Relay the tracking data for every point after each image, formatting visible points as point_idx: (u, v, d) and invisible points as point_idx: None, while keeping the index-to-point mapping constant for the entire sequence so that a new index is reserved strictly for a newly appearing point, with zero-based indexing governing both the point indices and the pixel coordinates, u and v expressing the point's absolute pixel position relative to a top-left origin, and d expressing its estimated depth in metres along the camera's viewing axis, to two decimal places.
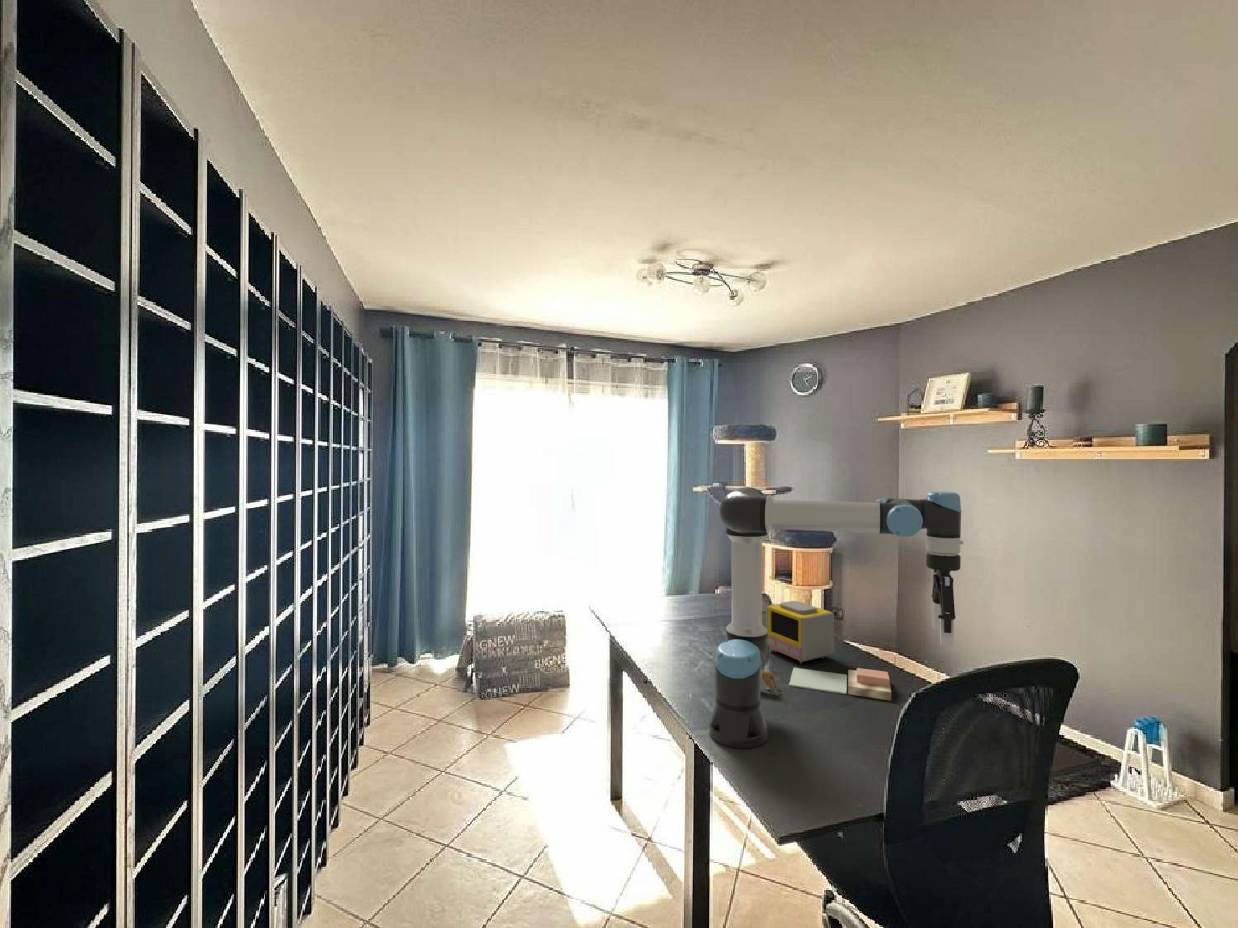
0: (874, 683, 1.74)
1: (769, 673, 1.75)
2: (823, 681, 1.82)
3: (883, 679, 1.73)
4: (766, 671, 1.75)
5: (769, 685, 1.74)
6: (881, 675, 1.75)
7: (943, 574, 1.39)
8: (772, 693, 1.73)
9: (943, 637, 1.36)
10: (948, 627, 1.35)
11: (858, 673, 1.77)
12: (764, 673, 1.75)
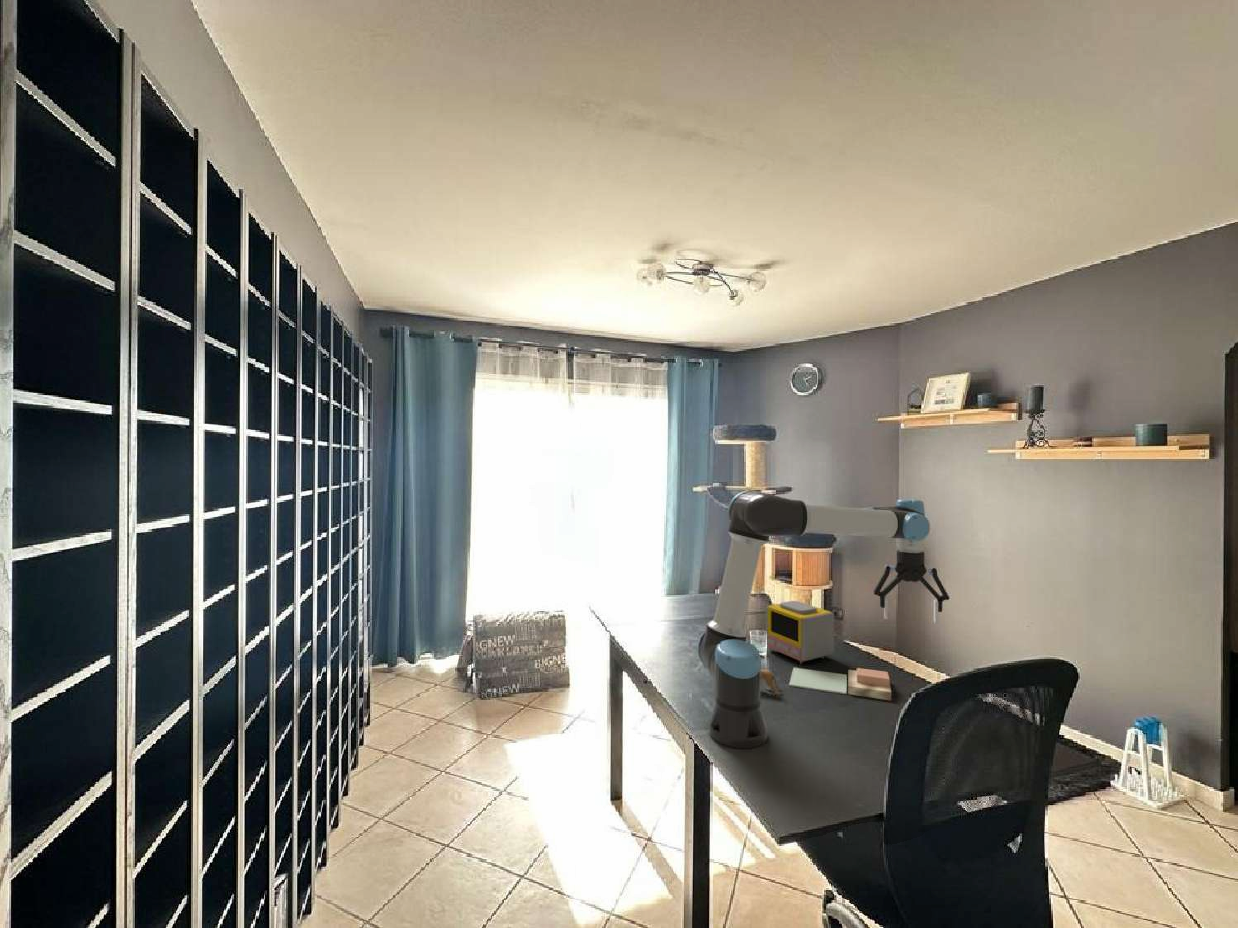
0: (874, 683, 1.74)
1: (770, 673, 1.75)
2: (823, 681, 1.82)
3: (883, 679, 1.73)
4: (767, 671, 1.75)
5: (770, 685, 1.74)
6: (881, 675, 1.75)
7: (896, 564, 1.72)
8: (773, 693, 1.73)
9: (884, 611, 1.74)
10: None
11: (858, 673, 1.77)
12: (765, 673, 1.75)
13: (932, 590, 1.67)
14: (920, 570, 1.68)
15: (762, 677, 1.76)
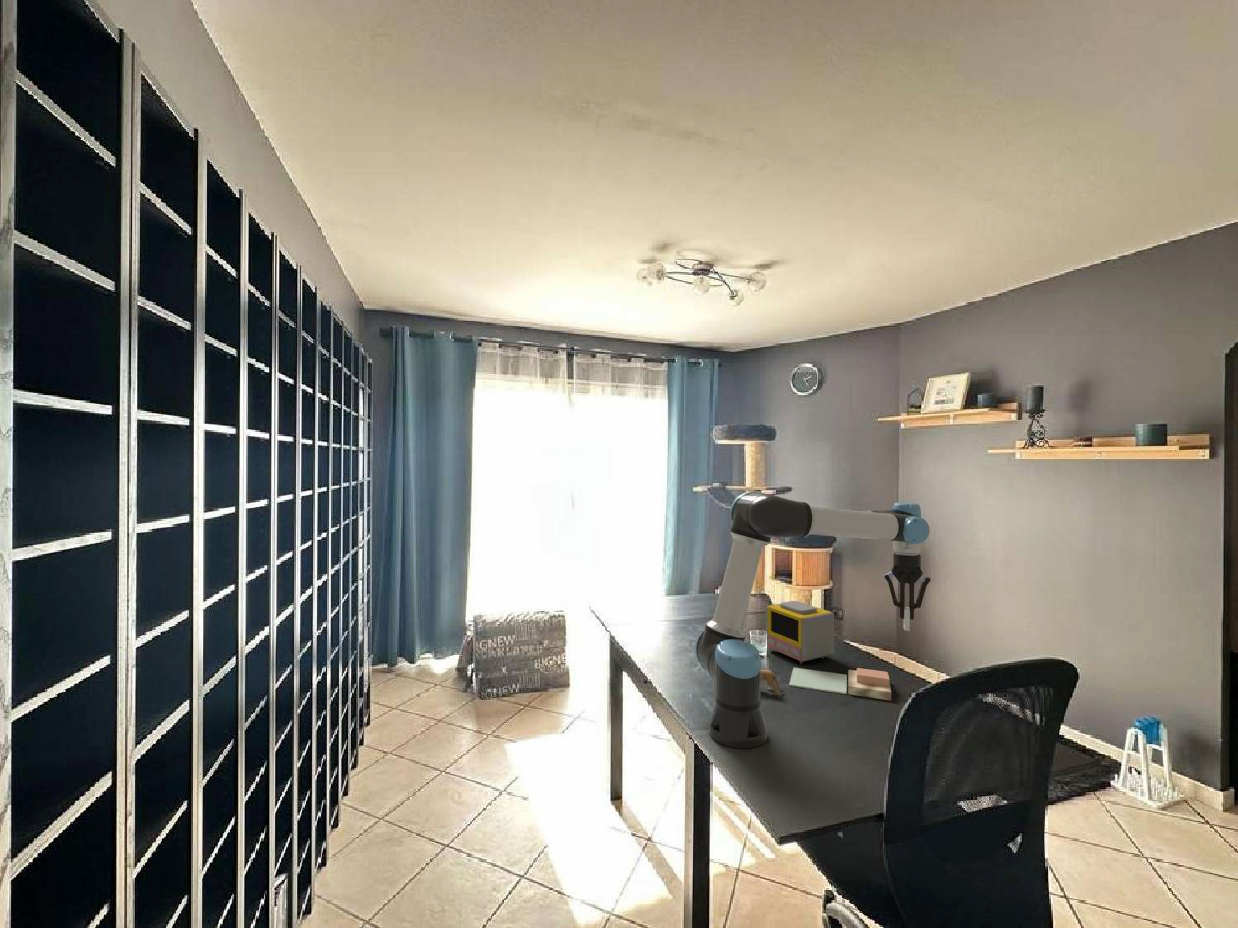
0: (874, 683, 1.74)
1: (771, 673, 1.74)
2: (823, 681, 1.82)
3: (883, 679, 1.73)
4: (768, 671, 1.75)
5: (771, 685, 1.73)
6: (881, 675, 1.75)
7: None
8: (775, 693, 1.73)
9: None
10: (900, 613, 1.74)
11: (858, 673, 1.77)
12: (766, 673, 1.75)
13: (912, 596, 1.71)
14: (917, 571, 1.71)
15: (763, 677, 1.75)
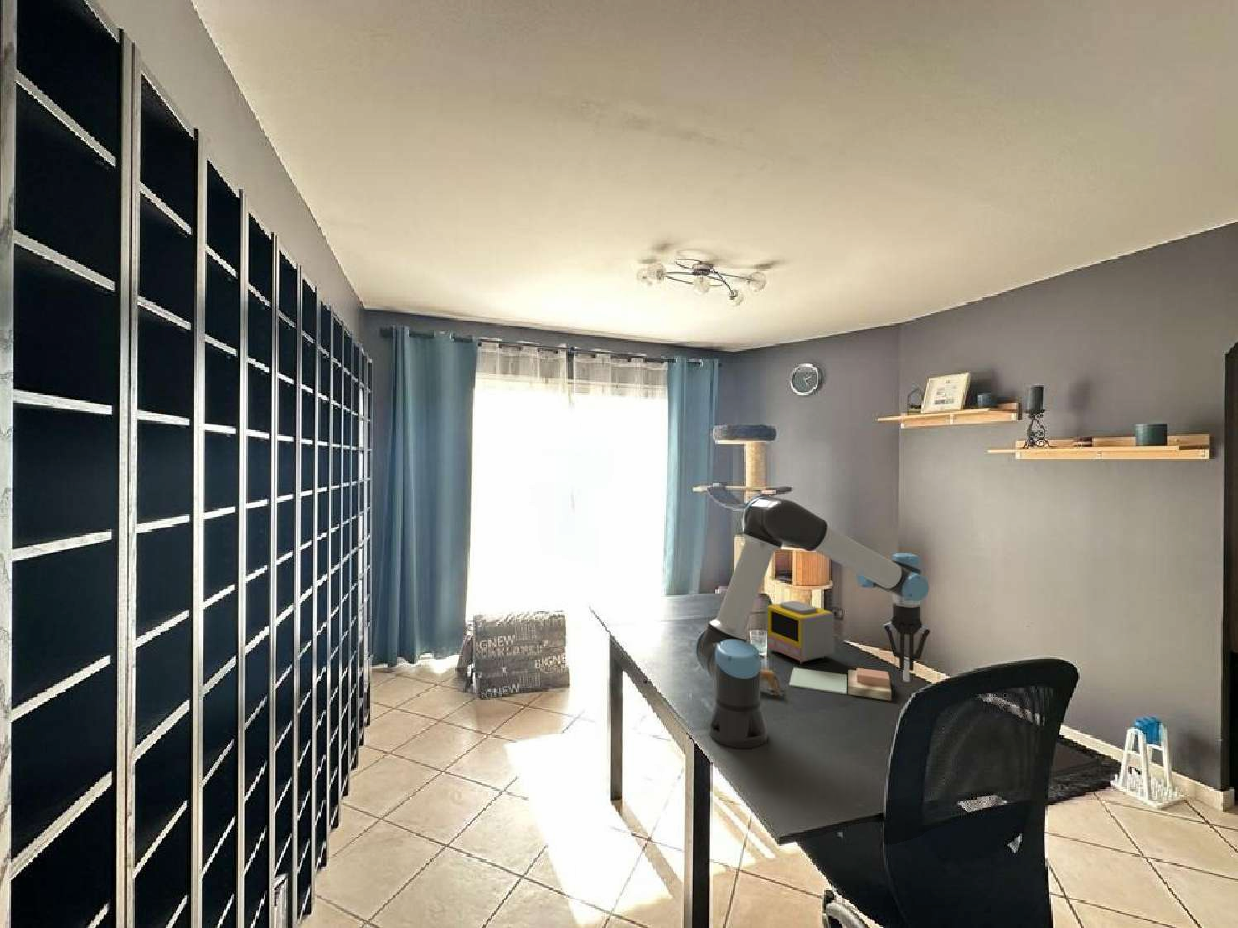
0: (874, 683, 1.74)
1: (773, 674, 1.74)
2: (823, 681, 1.82)
3: (883, 679, 1.73)
4: (770, 672, 1.75)
5: (773, 686, 1.73)
6: (881, 675, 1.75)
7: None
8: (776, 694, 1.73)
9: (903, 672, 1.75)
10: (899, 664, 1.74)
11: (858, 673, 1.77)
12: (768, 674, 1.74)
13: (911, 648, 1.72)
14: (916, 623, 1.71)
15: (764, 678, 1.75)
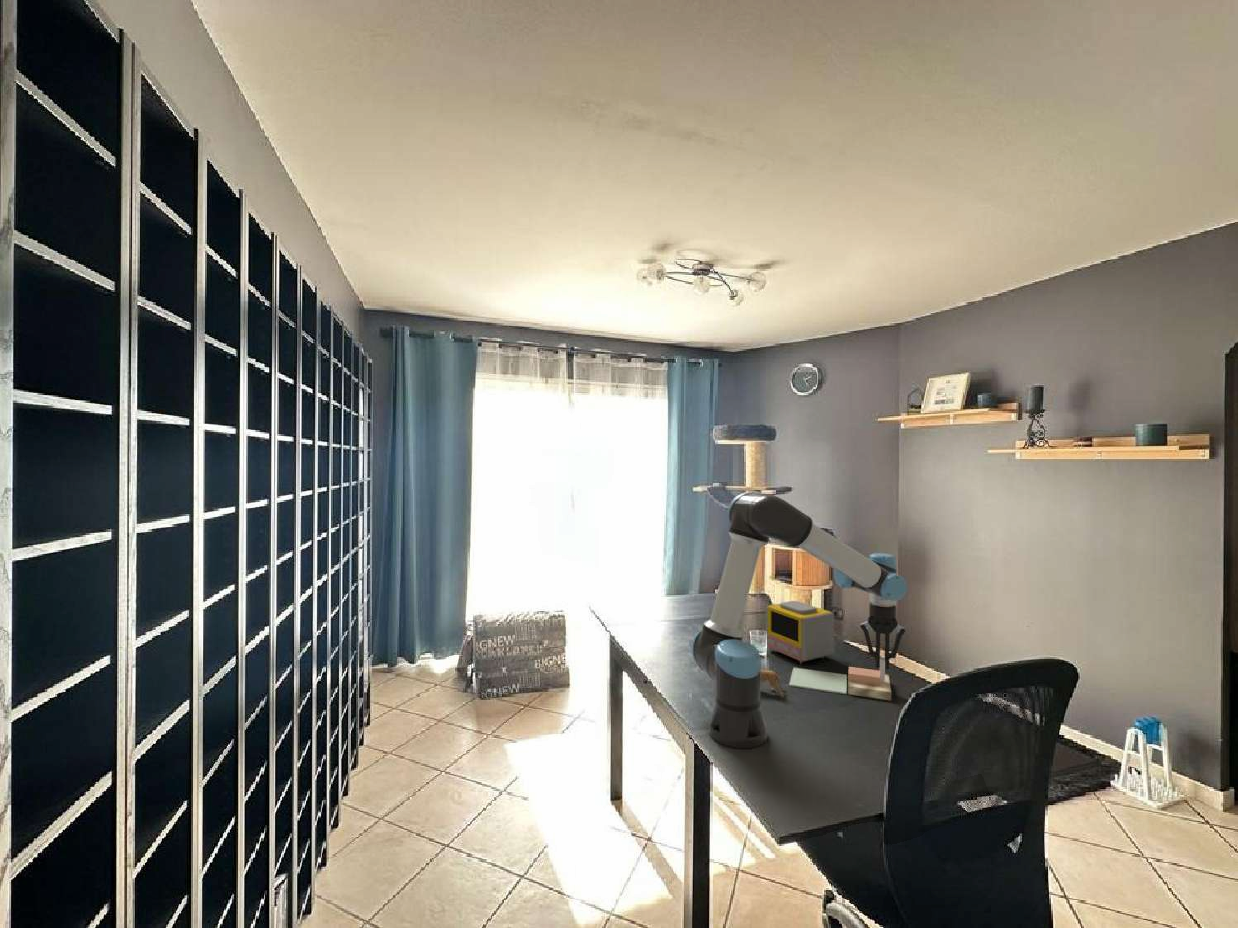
0: (866, 681, 1.75)
1: (774, 674, 1.74)
2: (823, 681, 1.82)
3: (874, 677, 1.74)
4: (771, 672, 1.75)
5: (774, 686, 1.73)
6: (873, 674, 1.76)
7: None
8: (777, 694, 1.73)
9: (879, 671, 1.77)
10: None
11: (850, 672, 1.78)
12: (769, 674, 1.74)
13: (887, 647, 1.74)
14: (892, 622, 1.74)
15: (766, 678, 1.75)
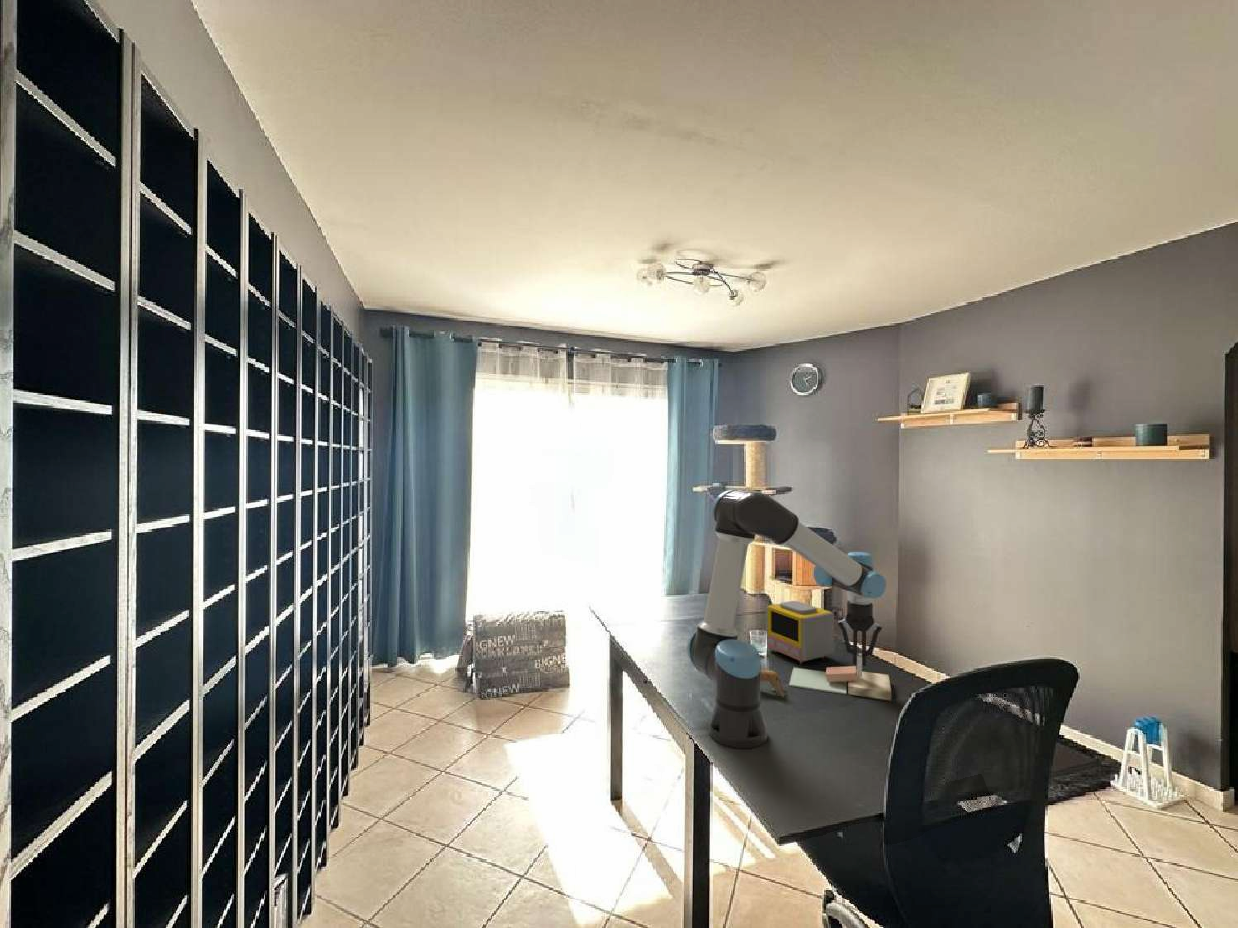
0: (843, 679, 1.78)
1: (775, 674, 1.74)
2: (823, 681, 1.82)
3: (850, 674, 1.77)
4: (772, 672, 1.74)
5: (775, 686, 1.73)
6: (849, 670, 1.79)
7: None
8: (778, 694, 1.73)
9: None
10: None
11: (827, 672, 1.81)
12: (770, 674, 1.74)
13: (864, 644, 1.77)
14: (869, 620, 1.76)
15: (767, 678, 1.75)
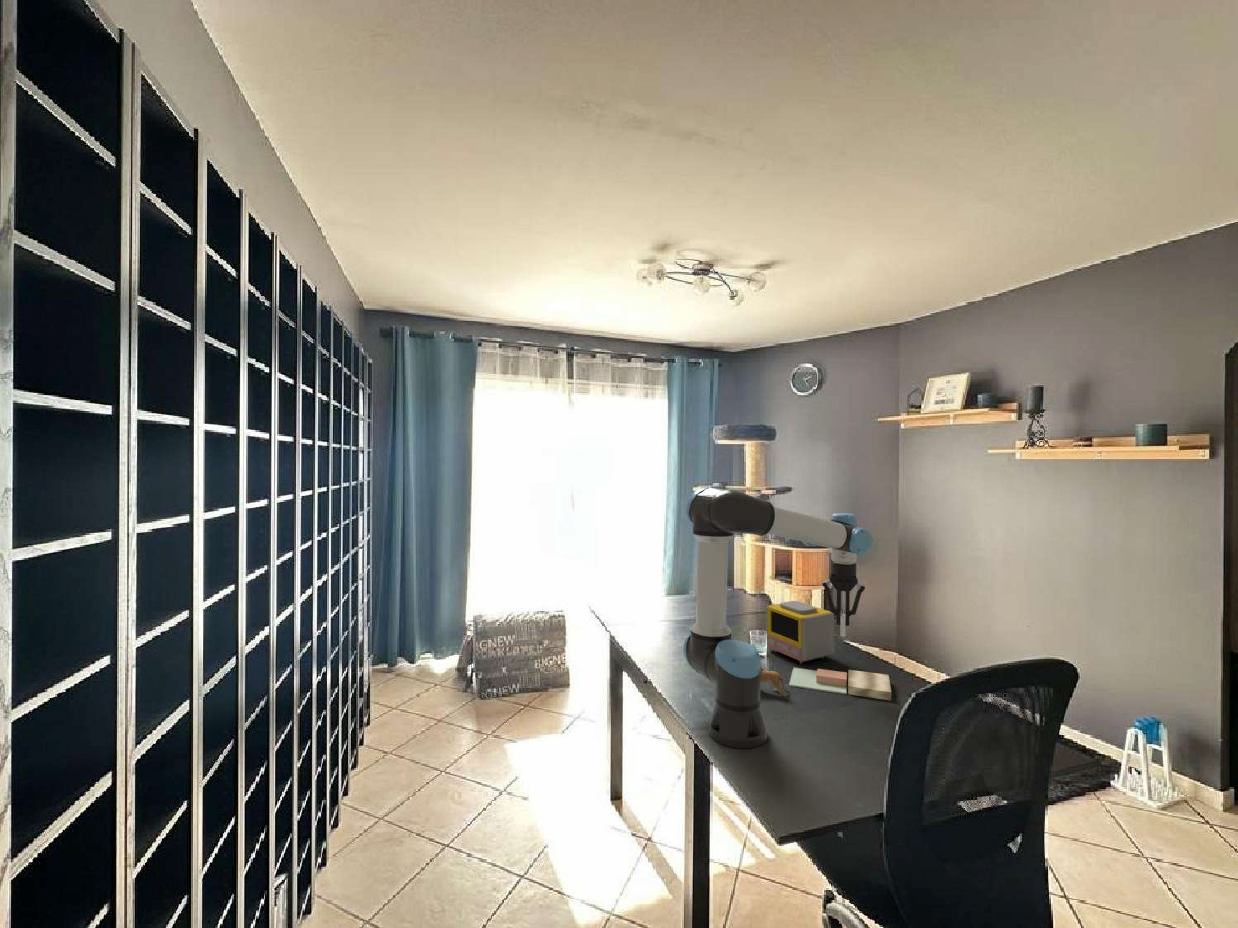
0: (833, 683, 1.79)
1: (777, 674, 1.74)
2: None
3: (841, 679, 1.78)
4: (774, 672, 1.74)
5: (778, 687, 1.73)
6: (840, 676, 1.80)
7: None
8: (781, 695, 1.72)
9: None
10: None
11: (818, 673, 1.82)
12: (772, 675, 1.74)
13: (847, 604, 1.78)
14: (852, 580, 1.78)
15: (769, 678, 1.75)
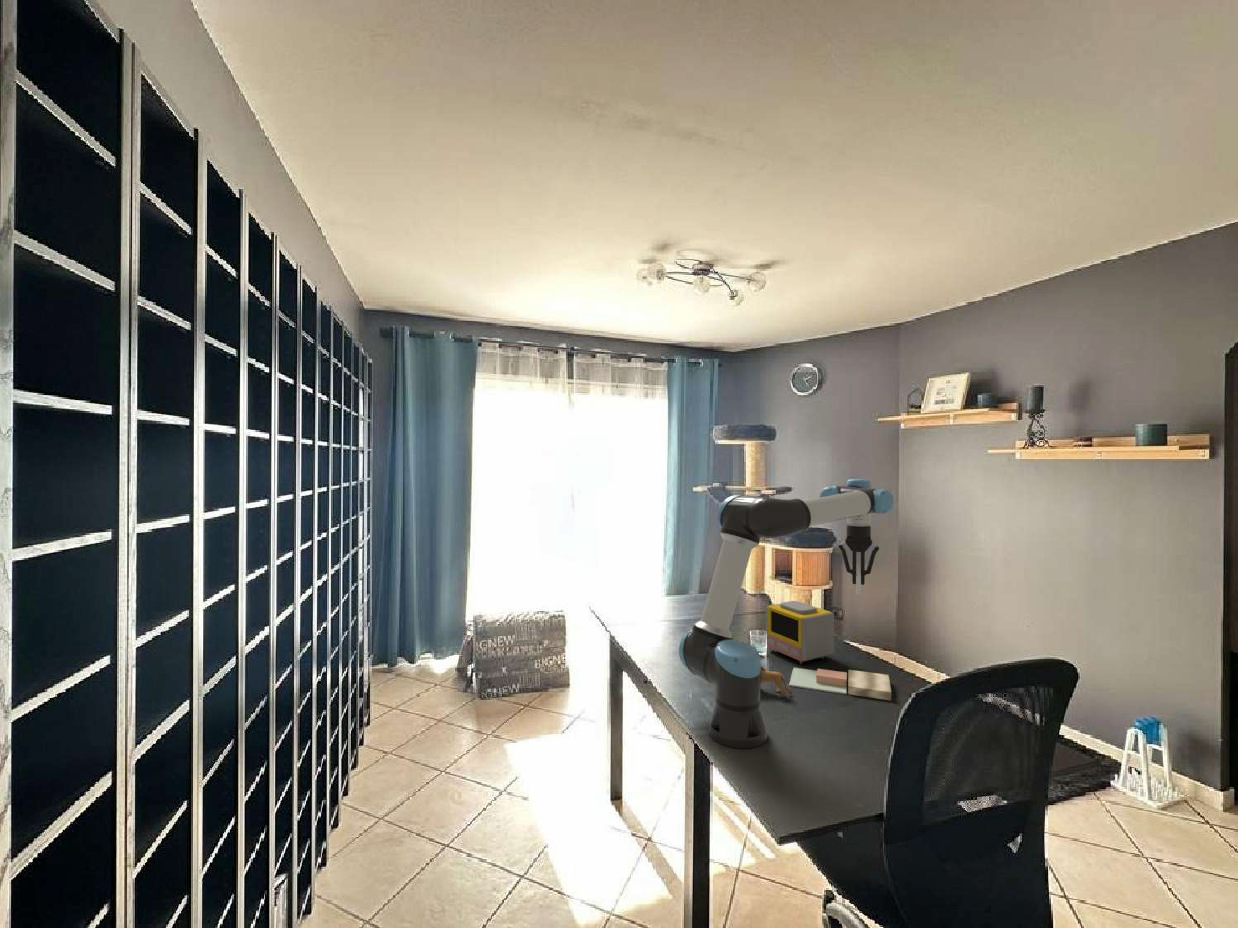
0: (833, 683, 1.79)
1: (780, 675, 1.73)
2: None
3: (841, 679, 1.78)
4: (777, 673, 1.74)
5: (780, 687, 1.72)
6: (840, 676, 1.80)
7: (845, 539, 1.93)
8: (783, 695, 1.72)
9: None
10: None
11: (818, 673, 1.82)
12: (775, 675, 1.73)
13: (863, 564, 1.89)
14: (867, 541, 1.89)
15: (772, 679, 1.74)
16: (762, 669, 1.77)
